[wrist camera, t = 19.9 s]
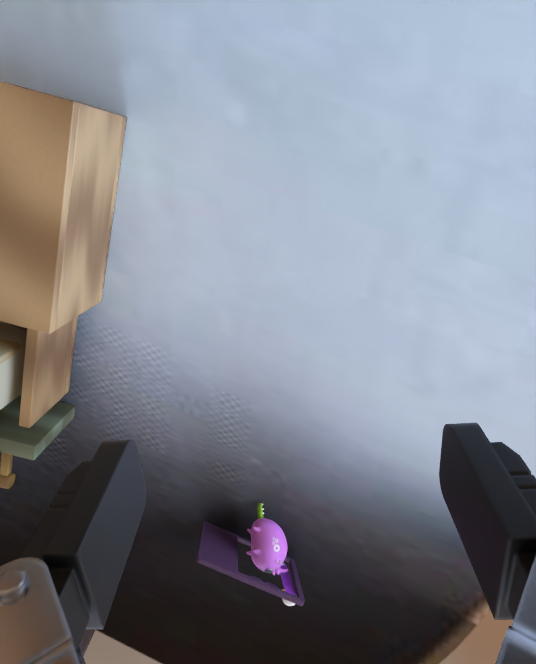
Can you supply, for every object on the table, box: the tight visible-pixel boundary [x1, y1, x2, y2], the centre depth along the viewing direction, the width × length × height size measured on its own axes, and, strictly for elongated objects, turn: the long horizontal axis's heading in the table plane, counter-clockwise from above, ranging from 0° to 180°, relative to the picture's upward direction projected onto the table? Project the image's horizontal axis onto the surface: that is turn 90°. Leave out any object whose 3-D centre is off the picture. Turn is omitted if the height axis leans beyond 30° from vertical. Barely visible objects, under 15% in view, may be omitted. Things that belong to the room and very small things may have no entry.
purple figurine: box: [196, 503, 305, 606], centre depth 40 cm, size 7×5×9 cm
